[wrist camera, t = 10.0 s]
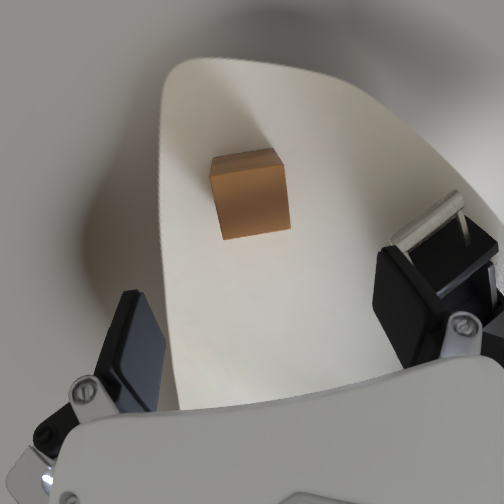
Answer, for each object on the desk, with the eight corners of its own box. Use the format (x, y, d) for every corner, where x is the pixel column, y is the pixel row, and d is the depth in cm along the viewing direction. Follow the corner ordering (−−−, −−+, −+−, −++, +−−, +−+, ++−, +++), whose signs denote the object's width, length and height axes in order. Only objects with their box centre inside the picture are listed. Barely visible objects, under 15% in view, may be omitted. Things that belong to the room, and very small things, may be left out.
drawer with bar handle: (355, 230, 25) (383, 270, 20) (445, 164, 22) (487, 189, 17) (414, 333, 33) (434, 368, 28) (478, 285, 30) (503, 315, 25)
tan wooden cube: (212, 157, 22) (208, 175, 18) (273, 147, 21) (284, 163, 18) (223, 212, 24) (223, 240, 20) (280, 202, 24) (291, 229, 20)
